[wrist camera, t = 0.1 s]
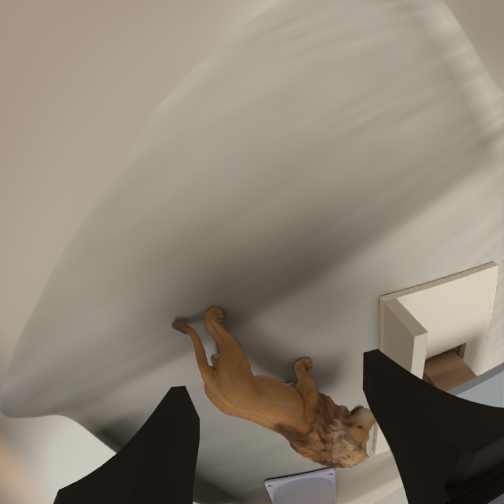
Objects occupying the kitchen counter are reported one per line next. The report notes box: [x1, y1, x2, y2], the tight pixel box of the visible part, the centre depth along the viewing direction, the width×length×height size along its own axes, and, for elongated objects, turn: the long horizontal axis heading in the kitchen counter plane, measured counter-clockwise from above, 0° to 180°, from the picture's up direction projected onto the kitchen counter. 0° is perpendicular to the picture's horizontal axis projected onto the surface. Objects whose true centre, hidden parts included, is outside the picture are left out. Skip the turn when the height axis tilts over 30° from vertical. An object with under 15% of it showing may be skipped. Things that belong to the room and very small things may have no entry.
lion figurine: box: [172, 308, 376, 468], centre depth 19 cm, size 15×5×9 cm, turn 63°
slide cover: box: [446, 362, 504, 408], centre depth 18 cm, size 8×11×1 cm
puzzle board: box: [373, 262, 499, 460], centre depth 22 cm, size 20×12×6 cm, turn 12°
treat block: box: [422, 349, 477, 392], centre depth 22 cm, size 4×4×5 cm
